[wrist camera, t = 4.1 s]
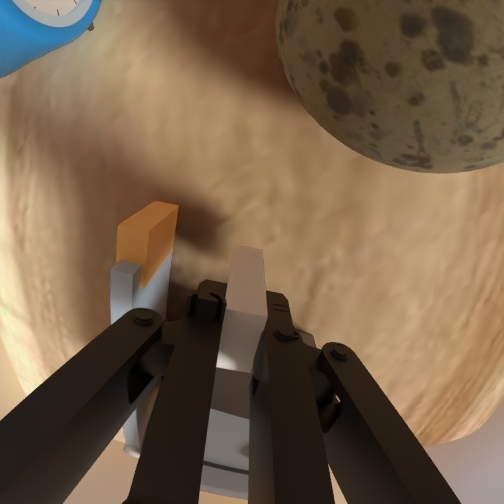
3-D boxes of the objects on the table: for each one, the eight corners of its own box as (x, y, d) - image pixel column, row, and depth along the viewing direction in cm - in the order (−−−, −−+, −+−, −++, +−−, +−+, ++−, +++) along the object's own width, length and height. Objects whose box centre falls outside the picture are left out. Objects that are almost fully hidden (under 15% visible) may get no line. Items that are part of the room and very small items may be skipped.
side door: (160, 196, 17) (103, 233, 10) (183, 201, 17) (137, 241, 10) (148, 386, 22) (123, 453, 16) (164, 390, 23) (143, 459, 16)
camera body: (208, 295, 19) (177, 410, 10) (313, 335, 21) (341, 448, 11) (165, 395, 23) (138, 487, 14) (248, 422, 24) (246, 512, 15)
